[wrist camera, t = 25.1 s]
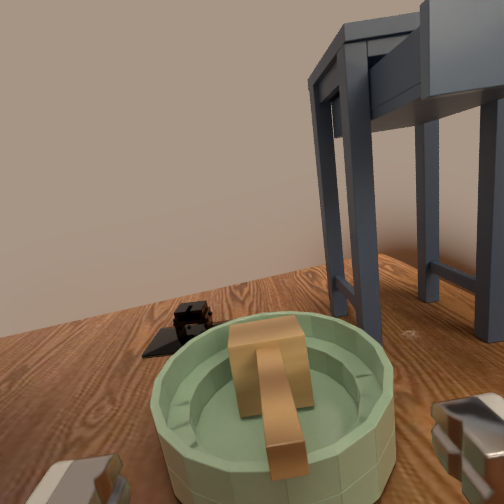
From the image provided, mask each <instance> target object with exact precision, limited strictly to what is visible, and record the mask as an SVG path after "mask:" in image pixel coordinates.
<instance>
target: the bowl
mask: <svg viewBox="0 0 504 504" xmlns="http://www.w3.org/2000/svg"><path fill="white" fill-rule="evenodd" d="M289 315H295V317H296V319H297V321H298V323H299V325H300V326H301V328H302V330H303V332H304V334H305V340H306V347H307V354H308V361H309V368H310V376H311V383H312V390H313V397H314V406H308V407H302V408H296V410H297V414H298V417H299V421H300V424H301V428H302V432H303V435H304V439H305V444H306V451H307V458H308V465H309V471H310V473H309V475H305V476H300V477H294V478H288V479H282V480H276V481H272V480H271V477H270V471H269V465H268V459H267V453H266V447H265V437H264V427H263V417H262V414H260V415H255V416H249V417H243V418H240V415H239V409H238V404H237V398H236V393H235V387H234V381H233V376H232V370H231V365H230V359H229V353H228V338H229V329H230V325H234V324H240V323H246V322H252V321H258V320H264V319H270V318H277V317H283V316H289ZM150 409H151V413H152V417H153V420H154V424H155V428H156V431H157V435H158V439H159V442H160V446H161V450H162V453H163V457H164V461H165V464H166V467H167V471H168V474H169V478H170V481H171V484H172V488H173V491H174V494H175V496H176V497H177V498H178V499H179V500H180V502H181V503H182V504H373V503H374V502H375V501H377V500H378V499H379V497H380V496H381V494H382V492H383V489H384V487H385V485H386V483H387V481H388V478H389V476H390V474H391V472H392V469H393V467H394V465H395V463H396V415H395V393H394V370H393V366H392V364H391V363H390V361H389V359H388V357H387V355H386V353H385V352H384V350H383V348H382V346H381V345H380V344H379V343H378V342H377V341H376V340H374V339H373V338H372V337H371V336H370V335H368V334H367V333H366V332H365V331H364V330H362V329H361V328H359V327H356V326H354V325H352V324H350V323H348V322H345V321H343V320H341V319H339V318H335V317H331V316H326V315H322V314H317V313H312V312H296V311H280V312H268V313H259V314H255V315H250V316H246V317H241V318H237V319H234V320H231V321H228V322H226V323H223V324H221V325H218V326H215V327H213V328H210V329H208V330H207V331H205V332H203V333H202V334H200V335H198V336H196V337H195V338H193V339H191V340H190V341H188V342H187V343H186V344H185V345H184V346H182V347H181V348H180V349H179V350H178V351H177V352H176V353H175V354H173V355H172V356H171V357H170V358H169V359H168V360H167V362H166V364H165V365H164V367H163V368H162V370H161V371H160V373H159V374H158V376H157V377H156V379H155V381H154V386H153V391H152V396H151V401H150Z"/></svg>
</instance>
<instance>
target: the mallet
mask: <svg viewBox="0 0 504 504" xmlns="http://www.w3.org/2000/svg"><path fill="white" fill-rule="evenodd" d="M228 353H229V359H230V365H231V370H232V376H233V381H234V387H235V393H236V398H237V404H238V409H239V415H240V418H243V417H249V416H255V415H260V414H262V417H263V427H264V437H265V447H266V453H267V459H268V465H269V471H270V477H271V480H272V481H276V480H282V479H288V478H294V477H300V476H305V475H309V473H310V471H309V465H308V458H307V451H306V444H305V439H304V435H303V432H302V428H301V424H300V421H299V417H298V414H297V410H296V408H302V407H308V406H314V397H313V390H312V383H311V376H310V368H309V361H308V354H307V347H306V340H305V334H304V332H303V330H302V328H301V326H300V325H299V323H298V321H297V319H296V317H295V315H289V316H283V317H277V318H270V319H264V320H258V321H252V322H246V323H240V324H234V325H230V329H229V338H228Z"/></svg>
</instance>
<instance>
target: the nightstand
mask: <svg viewBox="0 0 504 504" xmlns="http://www.w3.org/2000/svg"><path fill="white" fill-rule="evenodd" d="M308 89H309V92H310V102H311V112H312V123H313V132H314V133H313V134H314V144H315V154H316V165H317V175H318V186H319V196H320V205H321V206H320V207H321V217H322V228H323V237H324V248H325V259H326V269H327V280H328V290H329V300H330V311H331V313H332V314H333V316H334V317H339V316H345V315H348V311H347V299H348V300H349V301H350V302H351V304H352V305H353V306H354V307H355V308H356V321H357V327H359V328H361V329H362V330H364V331H365V332H366V333H367V334H368V335H370V336H371V337H372V338H373V339H374V340H376V341H377V342H378V343H379V344H380V345H381V346H382V348H383V345H382V326H381V307H380V288H379V270H378V252H377V232H376V213H375V194H374V176H373V156H372V137H371V133H372V132H378V131H385V130H391V129H398V128H404V127H411V126H415V153H416V203H417V251H418V252H417V253H418V298H419V299H421V300H422V301H424V302H426V303H429V302H435V301H439V276H440V277H442V278H444V279H447V280H449V281H451V282H453V283H455V284H457V285H459V286H462V287H463V288H466V289H468V290H470V291H472V292H474V293H475V322H474V335H476V336H477V337H479V338H481V339H482V340H484V341H485V342H487V343H493V342H499V341H504V0H425V1H424V2H423V3H422V4H421V5H420V12H415V13H409V14H402V15H397V16H390V17H383V18H377V19H371V20H364V21H358V22H351V23H345V24H343V26H342V27H341V29H340V31H339V32H338V34H337V35H336V37H335V38H334V40H333V41H332V43H331V44H330V46H329V47H328V49H327V51H326V52H325V54H324V55H323V57H322V58H321V60H320V61H319V63H318V65H317V66H316V68H315V69H314V71H313V72H312V74H311V75H310V77H309V79H308ZM331 105H332V113H333V127H334V138H340V137H343V146H344V159H345V173H346V186H347V200H348V214H349V227H350V239H351V254H352V267H353V281H354V287H353V286H352V285H350V284H349V283H348V282H347V281H346V280H345V274H344V262H343V251H342V238H341V225H340V213H339V201H338V188H337V177H336V164H335V151H334V140H333V127H332V114H331ZM480 105H481V110H480V148H479V182H478V218H477V252H476V277H475V276H472V275H470V274H467V273H465V272H462V271H460V270H458V269H455V268H453V267H450V266H448V265H445V264H443V263H440V262H439V119H440V118H443V117H446V116H449V115H452V114H455V113H459V112H462V111H465V110H468V109H471V108H474V107H477V106H480ZM346 298H347V299H346Z"/></svg>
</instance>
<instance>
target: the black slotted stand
mask: <svg viewBox="0 0 504 504" xmlns="http://www.w3.org/2000/svg"><path fill="white" fill-rule="evenodd" d="M211 315H212V312H211V311H210V307H208V306H207V301H197V302H189V303H181V304H180V305H179V306H178V308H177V309H176V311H175V312H174V316H175V318H174V319H173V322H174V323H173V325H174V327H165V328H161V329H160V330H159V332H158V333H157V335H156V336H155V337H154V339H153V340H152V342H151V343H150V344H149V346H148V347H147V349H146V350H145V351H144V353H143V354H142V358H150V357H159V356H169V355H173V354H175V353H176V352H177V351H178V350H179V349H180V348H181V347H182V346H184V345H185V344H186V343H187V342H188V341H190V340H191V339H193V338H195V337H196V336H198V335H200V334H202V333H203V332H205V331H207V330H208V329H210V328H213V327H215V326H218V325H221V324H223V323H226V322H228V321H231V320H226V321H217V322H213V321H212V316H211ZM188 324H191V325H188Z"/></svg>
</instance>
